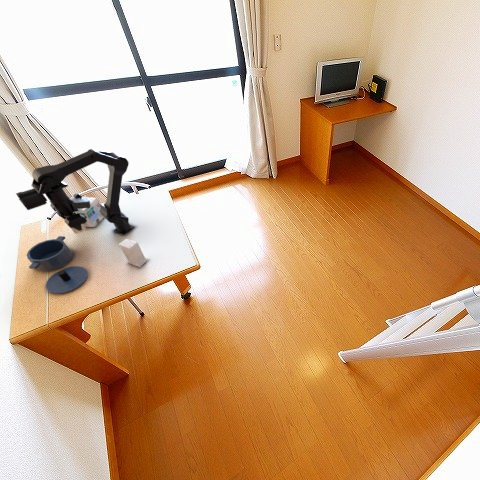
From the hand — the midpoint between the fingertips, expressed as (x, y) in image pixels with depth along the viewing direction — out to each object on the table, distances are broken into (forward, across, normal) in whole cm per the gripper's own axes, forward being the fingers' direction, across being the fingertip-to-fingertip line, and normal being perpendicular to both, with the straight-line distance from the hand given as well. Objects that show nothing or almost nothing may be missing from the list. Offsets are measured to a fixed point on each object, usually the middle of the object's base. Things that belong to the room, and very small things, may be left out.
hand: (78, 227), depth 122 cm
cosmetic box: (+11, -25, -9) cm, 29 cm away
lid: (+10, -15, +14) cm, 23 cm away
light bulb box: (+11, +17, -9) cm, 22 cm away
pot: (+11, +1, +13) cm, 17 cm away
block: (+1, 0, 0) cm, 1 cm away
